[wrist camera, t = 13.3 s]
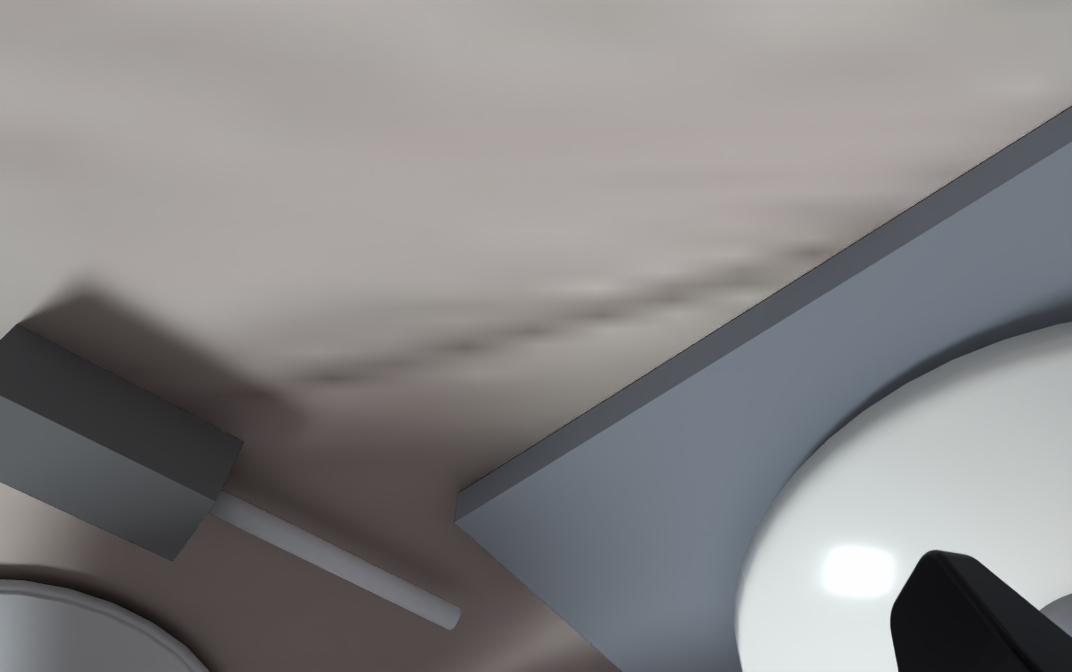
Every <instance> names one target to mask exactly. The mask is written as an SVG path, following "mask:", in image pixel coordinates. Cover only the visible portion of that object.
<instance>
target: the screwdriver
mask: <svg viewBox="0 0 1072 672" xmlns="http://www.w3.org/2000/svg"><path fill="white" fill-rule="evenodd" d="M242 444H243V442H242V441H241V440H239V439H237V438H235V437H233V436H231V435H229V434H227V433H225V432H223V431H221V430H219V429H217V428H216V427H214V426H212V425H210V424H208V423H206V422H204V421H202V420H200V419H198V418H196V417H194V416H192V415H191V414H189V413H187V412H185V411H183V410H181V409H179V408H177V407H175V406H173V405H171V404H169V403H167V402H166V401H164V400H162V399H160V398H158V397H156V396H154V395H152V394H150V393H148V392H146V391H144V390H142V389H141V388H139V387H137V386H135V385H133V384H131V383H129V382H127V381H125V380H123V379H121V378H119V377H117V376H116V375H114V374H112V373H110V372H108V371H106V370H104V369H102V368H100V367H98V366H96V365H94V364H92V363H91V362H89V361H87V360H85V359H83V358H81V357H79V356H77V355H75V354H73V353H71V352H69V351H67V350H66V349H64V348H62V347H60V346H58V345H56V344H54V343H52V342H50V341H48V340H46V339H44V338H43V337H41V336H39V335H37V334H35V333H33V332H31V331H29V330H27V329H25V328H23V327H21V326H19V325H18V324H16V325H15V326H14V327H13V328H12V329H11V330H10V331H9V332H8V333H7V334H6V335H5V336H4V337H3V338H2V339H1V340H0V482H1V483H3V484H6V485H8V486H10V487H12V488H14V489H16V490H19V491H21V492H23V493H25V494H27V495H29V496H32V497H34V498H36V499H38V500H40V501H42V502H45V503H47V504H49V505H51V506H53V507H55V508H58V509H60V510H62V511H64V512H66V513H68V514H71V515H73V516H75V517H77V518H79V519H81V520H84V521H86V522H88V523H90V524H92V525H95V526H97V527H99V528H101V529H103V530H105V531H108V532H110V533H112V534H114V535H116V536H118V537H121V538H123V539H125V540H127V541H129V542H131V543H134V544H136V545H138V546H140V547H142V548H144V549H147V550H149V551H151V552H153V553H155V554H157V555H160V556H162V557H164V558H166V559H168V560H170V561H174V559H175V558H176V556H177V555H178V554H179V552H180V551H181V549H182V548H183V547H184V545H185V544H186V543H187V541H188V540H189V538H190V537H191V536H192V534H193V533H194V531H195V530H196V529H197V527H198V526H199V524H200V523H201V522H202V520H203V519H204V517H205V516H206V515H207V513H209V514H211V515H213V516H215V517H217V518H219V519H222V520H224V521H226V522H228V523H230V524H232V525H234V526H236V527H238V528H240V529H242V530H244V531H246V532H248V533H250V534H252V535H254V536H257V537H259V538H261V539H263V540H265V541H267V542H269V543H271V544H273V545H275V546H277V547H279V548H281V549H283V550H285V551H287V552H289V553H292V554H294V555H296V556H298V557H300V558H302V559H304V560H306V561H308V562H310V563H312V564H314V565H316V566H318V567H320V568H322V569H324V570H327V571H329V572H331V573H333V574H335V575H337V576H339V577H341V578H343V579H345V580H347V581H349V582H351V583H353V584H355V585H357V586H359V587H362V588H364V589H366V590H368V591H370V592H372V593H374V594H376V595H378V596H380V597H382V598H384V599H386V600H388V601H390V602H392V603H394V604H397V605H399V606H401V607H403V608H405V609H407V610H409V611H411V612H413V613H415V614H417V615H419V616H421V617H423V618H425V619H427V620H429V621H432V622H434V623H436V624H438V625H440V626H442V627H444V628H446V629H448V630H452V629H453V628H454V627H455V626H456V624H457V622H458V620H459V618H460V614H461V609H460V608H459V607H457V606H455V605H453V604H451V603H449V602H447V601H445V600H443V599H441V598H439V597H437V596H435V595H433V594H431V593H429V592H427V591H425V590H423V589H421V588H419V587H417V586H415V585H413V584H411V583H409V582H407V581H405V580H403V579H400V578H398V577H396V576H394V575H392V574H390V573H388V572H386V571H384V570H382V569H380V568H378V567H376V566H374V565H372V564H370V563H368V562H366V561H364V560H362V559H360V558H358V557H356V556H354V555H352V554H350V553H348V552H346V551H344V550H342V549H340V548H338V547H336V546H334V545H332V544H330V543H328V542H326V541H324V540H322V539H320V538H318V537H316V536H314V535H312V534H310V533H308V532H306V531H304V530H302V529H300V528H298V527H296V526H294V525H292V524H290V523H288V522H286V521H284V520H282V519H280V518H278V517H276V516H274V515H272V514H270V513H268V512H266V511H264V510H262V509H260V508H258V507H256V506H254V505H252V504H250V503H248V502H246V501H244V500H242V499H240V498H238V497H236V496H234V495H232V494H230V493H227V492H225V491H223V490H222V487H223V485H224V483H225V481H226V479H227V477H228V474H229V472H230V470H231V468H232V466H233V464H234V462H235V459H236V457H237V455H238V453H239V451H240V449H241V446H242Z"/></svg>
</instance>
